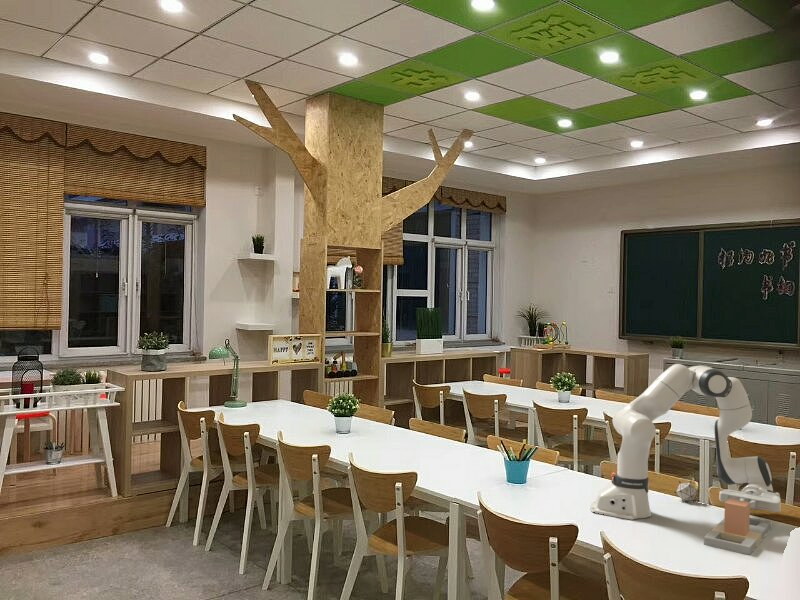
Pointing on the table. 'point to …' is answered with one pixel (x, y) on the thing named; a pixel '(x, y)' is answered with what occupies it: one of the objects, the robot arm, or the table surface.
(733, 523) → the block
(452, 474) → the table surface
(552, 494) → the table surface
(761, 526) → the box
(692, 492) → the grey faceted ball
